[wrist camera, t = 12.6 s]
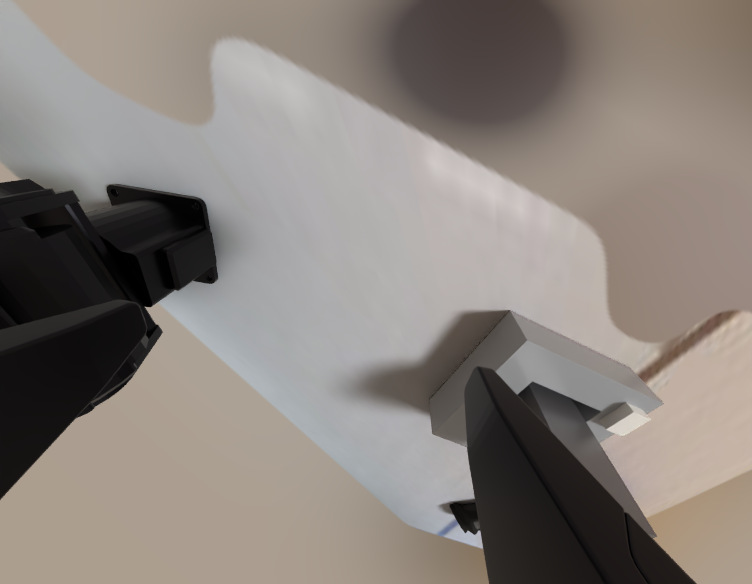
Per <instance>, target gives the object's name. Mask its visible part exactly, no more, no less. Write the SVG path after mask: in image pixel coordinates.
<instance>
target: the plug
mask: <svg viewBox="0 0 752 584" xmlns="http://www.w3.org/2000/svg"><path fill="white" fill-rule="evenodd" d="M517 395H518V396H519V397H520V398H521V399H522V400H523V401H524V403H525V404H526V405H527V406H528V407H529V408H530V409H531V410H532V411H533V412H534V413H535V414H536V415H537V416H538V417H539V418H540V420H541V421H542V422H543V423H544V424H545V425H546V426H547V427H548V428H549V429H550V430H551V431H552V432H553V433H554V434H555V436H556V437H557V438H558V439H559V440H560V441H561V442H562V443H563V444H564V445H565V446H566V447H567V448H568V449H569V450H570V451H571V453H572V454H573V455H574V456H575V457H576V458H577V459H578V460H579V461H580V462H581V463H582V464H583V465H584V466H585V467H586V468H587V470H588V471H589V472H590V473H591V474H592V475H593V476H594V477H595V478H596V479H597V480H598V481H599V482H600V483H601V484H602V485H603V487H604V488H605V489H606V490H607V491H608V492H609V493H610V494H611V495H612V496H613V497H614V498H615V499H616V500H617V501H618V502H619V504H620V505H621V506H622V507H623V508H624V511H625V512H627V513H629V514H630V515H631V516H632V517H633V518H634V519H635V520H636V521H637V523H638V524H639V525H640V526H641V527H642V528H643V529H644V530H645V531H646V532H647V533H648V534H649V535H650V536H651V537H652V538H654V537H657V536H656V534H655V532H654V531H653V529H652V527H651V526H650V524H649V523H648V521H647V519H646V518H645V516H644V515H643V513H642V511H641V510H640V508H639V506H638V505H637V503H636V502H635V500H634V498H633V497H632V495H631V494H630V492H629V490H628V489H627V487H626V486H625V484H624V482H623V481H622V479H621V477H620V476H619V474H618V473H617V471H616V469H615V468H614V466H613V465H612V463H611V461H610V460H609V458H608V457H607V455H606V453H605V452H604V450H603V448H602V447H601V445H600V444H599V442H598V440H597V439H596V437H595V436H594V434H593V432H592V431H591V429H590V428H589V426H588V424H587V423H586V421H585V419H584V418H583V416H582V415H581V413H580V411H579V410H578V408H577V407H576V405H575V403H574V402H573V400H572V399H571V398H570V397H567V396H565V395H563V394H560V393H558V392H556V391H554V390H551V389H549V388H547V387H544V386H542V385H540V384H538V383H535V382H533V381H532V382H531V383H530V384H529V385H528V386H527V387H525V388H524V389H523V390H522V391H521V392H520V393H519V394H517Z"/></svg>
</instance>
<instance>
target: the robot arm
mask: <svg viewBox="0 0 752 584" xmlns="http://www.w3.org/2000/svg"><path fill="white" fill-rule="evenodd" d="M116 191H117V192H118V194H117V192H116ZM107 193H108V196H109V198H110V201H111V204H112V206H110V207H107V208H103V209H99V210H95V211H92V212H88V213H84V211H83V210H82V208H81V206H80V205H79V203H78V202H79V199H78V197H77V196H76V194H75V193H74V191H73V190H70V191H63V192H56V193H55V192H54V190H53V189H45V188H43V187H41V186H40V185H38V184H36V183H35V182H33V181H31V180H30V179H26V180H18V181H11V182H4V183H0V500H1V498H2V497H3V496H4V495H5V494H6V493H7V492H8V491H9V490H10V489H11V487H13V485H14V484H15V483H16V482H17V481H18V480H19V479H20V478H21V477H22V476H23V475H24V474H25V472H26V471H27V470H28V469H29V468H30V467H31V466H32V465H33V464H34V463H35V462H36V461H37V460H38V458H39V457H40V456H41V455H42V454H43V453H44V452H45V451H46V450H47V449H48V448H49V446H51V444H52V443H53V442H54V441H55V440H56V439H57V438H58V437H59V436H60V435H61V434H62V433H63V432H64V430H65V429H66V428H67V427H68V426H69V425H70V424H71V423H72V422H73V421H74V420H75V419H76V418H78V417H80V416H82V415H84V414H87V413H89V412H90V411H92V410H93V409H94V407H95V406H97V405H99V404H100V403H102V402H104V401H105V400H107V399H109V398H110V397H111V396H113V395H114V394H115V393H117V392H118V391H119V390H120V389H122V388H123V387H124V386H125V385H126V384H127V383H128V381H129V380H130V379H131V378H132V377H133V375H134V374H135V372H136V371H137V369H138V368H139V367H140V365H141V364H142V362H143V361H144V359H145V357H146V356H147V355H148V353H149V352H150V350H151V349H152V347H153V346H154V345H155V343H156V342H157V340H158V339H159V337H160V336H161V334H162V330H161V328H160V327H159V326H158V325H156V324H155V322H154V321H153V319H152V318H151V316H150V314H149V313H148V311H147V310H146V308H145V307H152V306H153V305H155V304H156V303H157V302H159V301H160V300H162V299H163V298H164V297H166V296H167V295H169V294H170V293H172V292H173V291H174V290H177V291H179V290H181V289H182V288H183V287H185V286H186V285H188V284H189V283H190V282H192V281H197V282H203V283H209V284H212V283H214V282H216V281H217V280H218V273H217V267H216V256H215V250H214V244H213V238H212V233H211V231H210V226H209V220H208V214H207V208H206V204H205V202H204V201H203V200H202V199H200V198H197V197H191V196H185V195H179V194H173V193H167V192H161V191H155V190H149V189H143V188H137V187H131V186H125V185H119V184H114V185H109V186H108V187H107ZM195 203H197V204H198V206H199V208H197V207H196V205H195ZM209 276H211V277H212V278H210V277H209ZM144 306H145V307H144ZM464 403H465V420H466V437H467V451H468V459H469V465H470V471H471V477H472V483H473V489H474V495H475V501H476V507H477V513H478V519H479V525H480V531H481V537H482V543H483V549H484V555H485V561H486V567H487V573H488V579H489V584H696V583H695V582H694V581H693V580H692V579H691V578H690V577H689V576H688V575H687V574H686V573H685V572H684V570H682V568H681V567H680V566H679V565H678V564H677V563H676V562H675V561H674V560H673V559H672V558H671V557H670V556H669V555H668V554H667V553H666V552H665V551H664V550H663V549H662V548H661V547H660V546H659V545H658V544H657V543H656V542H655V540H654V539H653V538H652V537H651V536H650V535H649V534H648V533H647V532H646V531H645V530H644V529H643V528H642V527H641V526H640V525H639V524H638V523H637V521H636V520H635V519H634V518H633V517H632V516H631V515H630V514H629V513H627V512H625V511H624V508H623V507H622V506H621V505H620V504H619V502H618V501H617V500H616V499H615V498H614V497H613V496H612V495H611V494H610V493H609V492H608V491H607V490H606V489H605V488H604V487H603V485H602V484H601V483H600V482H599V481H598V480H597V479H596V478H595V477H594V476H593V475H592V474H591V473H590V472H589V471H588V470H587V468H586V467H585V466H584V465H583V464H582V463H581V462H580V461H579V460H578V459H577V458H576V457H575V456H574V455H573V454H572V453H571V451H570V450H569V449H568V448H567V447H566V446H565V445H564V444H563V443H562V442H561V441H560V440H559V439H558V438H557V437H556V436H555V434H554V433H553V432H552V431H551V430H550V429H549V428H548V427H547V426H546V425H545V424H544V423H543V422H542V421H541V420H540V418H539V417H538V416H537V415H536V414H535V413H534V412H533V411H532V410H531V409H530V408H529V407H528V406H527V405H526V404H525V403H524V401H523V400H522V399H521V398H520V397H519V396H518V395H517V394H516V393H515V392H514V391H513V390H512V389H511V388H510V387H509V386H508V384H507V383H506V382H505V381H504V380H503V379H502V378H501V377H500V376H499V375H498V374H497V373H496V372H495V371H494V370H493V369H492V368H489V367H483V366H476V367H475V368H474V369H473V371H472V373H471V375H470V377H469V379H468V382H467V384H466V386H465V390H464Z"/></svg>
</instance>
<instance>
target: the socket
mask: <svg viewBox="0 0 752 584" xmlns="http://www.w3.org/2000/svg"><path fill="white" fill-rule="evenodd" d="M476 366H483V367H489V368H492V369H493V370H494V371H495V372H496V373H497V374H498V375H499V376H500V377H501V378H502V379H503V380H504V381H505V382H506V383H507V384H508V386H509V387H510V388H511V389H512V390H513V391H514V392H515V393H516V394H519V393H520V392H521V391H522V390H523V389H524V388H525V387H527V386H528V385H529V384H530V383H531V382H532V381H533V382H535V383H538V384H540V385H542V386H544V387H547V388H549V389H551V390H554V391H556V392H558V393H560V394H563V395H565V396H567V397H570V398H571V399H572V400H573V402H574V403H575V405H576V407H577V408H578V410H579V411H580V413H581V415H582V416H583V418H584V419H585V421H586V423H587V424H588V426H589V428H590V429H591V431H592V432H593V434H594V436H595V437H596V439H597V440H598V442H599V443H600V442H602V441H604V440H605V439H607V438H608V437H610V436H612V435H613V434H617V435H620V436H622V437H623V436H624V435H626V434H628V433H629V432H631V431H633V430H635V429H636V428H638V427H640V426H641V425H643V424H645V423H646V422H648V421H650V420H651V419H650V418H649V417H648V415H647V414H648V413H649V412H651V411H653V410H654V409H656V408H658V407H659V406H661V405H662V404H664V403H663V402H662V401H661V400H660V399H659V398H658V397H657V396H656V395H655V393H654V392H653V391H652V390H651V389H650V388H649V387H648V386H647V385H646V384H645V383H644V382H643V381H642V380H641V379H640V378H639V377H638V376H637V374H636V373H635V372H634V371H633V370H632V369H631V368H630V367H627V366H625V365H623V364H621V363H619V362H617V361H615V360H613V359H611V358H609V357H607V356H604V355H602V354H600V353H598V352H596V351H594V350H592V349H590V348H588V347H586V346H583V345H581V344H579V343H577V342H575V341H573V340H571V339H569V338H567V337H565V336H562V335H560V334H558V333H556V332H554V331H552V330H550V329H548V328H546V327H544V326H542V325H539V324H537V323H535V322H533V321H531V320H529V319H527V318H525V317H523V316H521V315H518V314H516V313H514V312H512V311H509V312H508V313H507V314H506V316H505V317H504V318H503V319H502V320H501V321H500V322H499V323H498V324H497V326H496V327H495V328H494V329H493V330H492V331H491V332H490V333H489V334H488V335H487V337H486V338H485V339H484V340H483V341H482V342H481V343H480V344H479V345H478V347H477V348H476V349H475V350H474V351H473V352H472V353H471V354H470V355H469V357H468V358H467V359H466V360H465V361H464V362H463V363H462V364H461V365H460V367H459V368H458V369H457V370H456V371H455V372H454V373H453V374H452V375H451V377H450V378H449V379H448V380H447V381H446V382H445V383H444V384H443V385H442V387H441V388H440V389H439V390H438V391H437V392H436V393H435V394H434V395H433V397H432V398H431V399H430V400H429V404H430V415H431V426H432V434H434V435H436V436H439V437H441V438H444V439H447V440H449V441H452V442H455V443H457V444H460V445H463V446H465V447H467V437H466V420H465V403H464V390H465V386H466V384H467V382H468V379H469V377H470V375H471V373H472V371H473V369H474V368H475V367H476Z"/></svg>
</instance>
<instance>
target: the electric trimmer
mask: <svg viewBox="0 0 752 584" xmlns="http://www.w3.org/2000/svg"><path fill="white" fill-rule="evenodd" d="M450 508H451V510H452V512H453V514H454V516H455V518H456V520H457V522H458V523H459V525H460V526H461V528H462V529H463V531H464V532H465V533H466V532H467V530H468V531H470V532H471V533H473V534H474V535H475V534H477V532H478V530H480V525H479V519H478V513H477V507H476V504H469V505H462V506H461V505H459V504H458V503H454V504H453V505H450Z"/></svg>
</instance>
